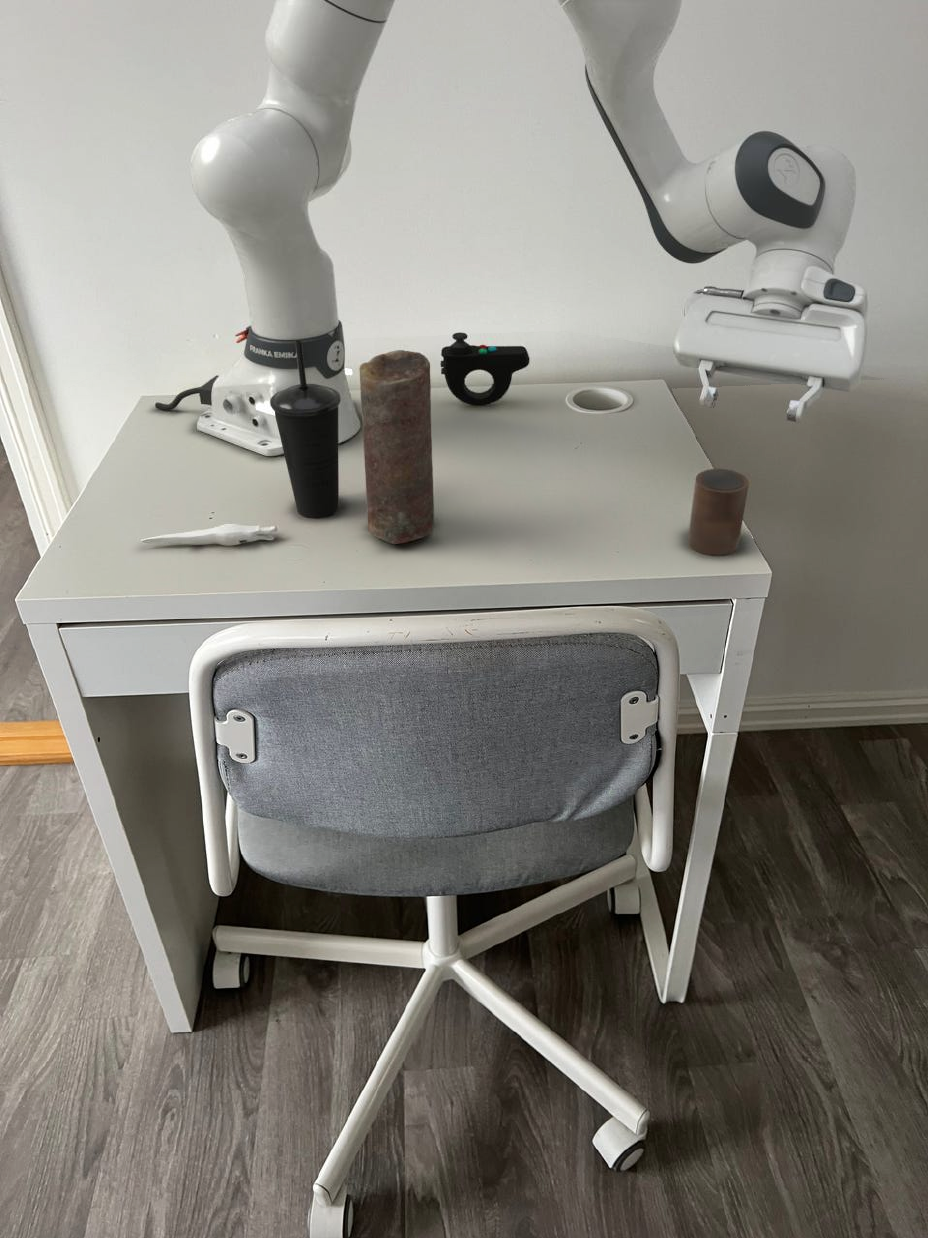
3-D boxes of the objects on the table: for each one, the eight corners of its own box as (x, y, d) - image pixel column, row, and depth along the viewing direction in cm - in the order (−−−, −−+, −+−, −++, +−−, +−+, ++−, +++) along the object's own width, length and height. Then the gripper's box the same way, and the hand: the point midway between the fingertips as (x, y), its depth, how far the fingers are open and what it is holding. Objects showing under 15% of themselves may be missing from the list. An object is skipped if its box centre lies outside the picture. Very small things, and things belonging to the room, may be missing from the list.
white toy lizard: (279, 533, 110) (277, 518, 109) (277, 544, 108) (275, 530, 107) (143, 541, 109) (140, 527, 108) (139, 554, 107) (135, 539, 106)
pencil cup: (681, 549, 106) (689, 485, 101) (695, 526, 109) (703, 464, 105) (731, 560, 103) (741, 495, 99) (743, 536, 107) (754, 473, 103)
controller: (442, 398, 141) (440, 329, 135) (528, 397, 141) (529, 328, 135) (441, 410, 137) (439, 340, 132) (529, 409, 137) (530, 338, 131)
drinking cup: (339, 527, 111) (321, 355, 99) (275, 521, 112) (250, 351, 101) (359, 495, 117) (343, 330, 105) (298, 490, 118) (276, 327, 107)
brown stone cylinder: (449, 536, 109) (444, 362, 97) (396, 559, 105) (384, 381, 93) (407, 511, 113) (398, 342, 102) (355, 532, 110) (339, 359, 98)
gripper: (688, 269, 109) (652, 384, 107) (882, 292, 101) (845, 416, 99) (695, 298, 114) (661, 407, 113) (879, 322, 106) (844, 439, 105)
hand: (749, 412), depth 106 cm, fingers open, 8 cm apart
